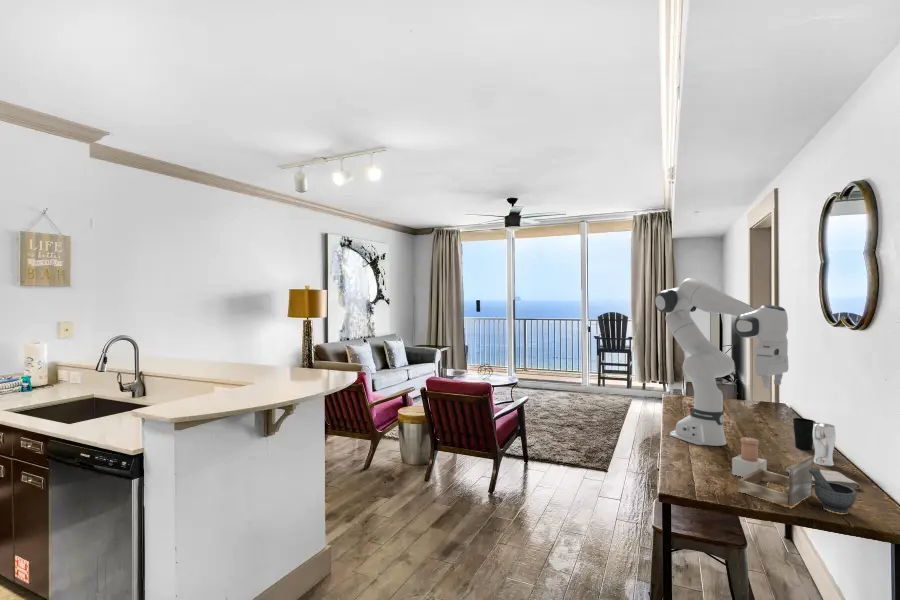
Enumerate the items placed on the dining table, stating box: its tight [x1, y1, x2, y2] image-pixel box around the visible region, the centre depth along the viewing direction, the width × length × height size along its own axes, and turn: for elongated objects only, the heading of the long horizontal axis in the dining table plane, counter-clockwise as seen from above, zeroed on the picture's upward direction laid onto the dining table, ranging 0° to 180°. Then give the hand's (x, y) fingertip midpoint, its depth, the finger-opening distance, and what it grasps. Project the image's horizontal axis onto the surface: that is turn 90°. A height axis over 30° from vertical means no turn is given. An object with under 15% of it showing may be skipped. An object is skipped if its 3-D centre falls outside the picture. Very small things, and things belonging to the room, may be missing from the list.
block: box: [731, 454, 768, 478], centre depth 166 cm, size 8×8×6 cm
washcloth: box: [785, 466, 861, 490], centre depth 162 cm, size 12×18×3 cm, turn 77°
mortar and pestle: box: [809, 467, 858, 513], centre depth 140 cm, size 11×9×12 cm
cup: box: [792, 417, 817, 452], centre depth 196 cm, size 8×8×12 cm
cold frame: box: [737, 455, 813, 506], centre depth 151 cm, size 15×17×13 cm
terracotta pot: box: [740, 436, 760, 462], centre depth 166 cm, size 6×6×7 cm
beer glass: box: [812, 422, 837, 467], centre depth 179 cm, size 7×7×15 cm
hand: (772, 386), depth 172 cm, fingers open, 8 cm apart
